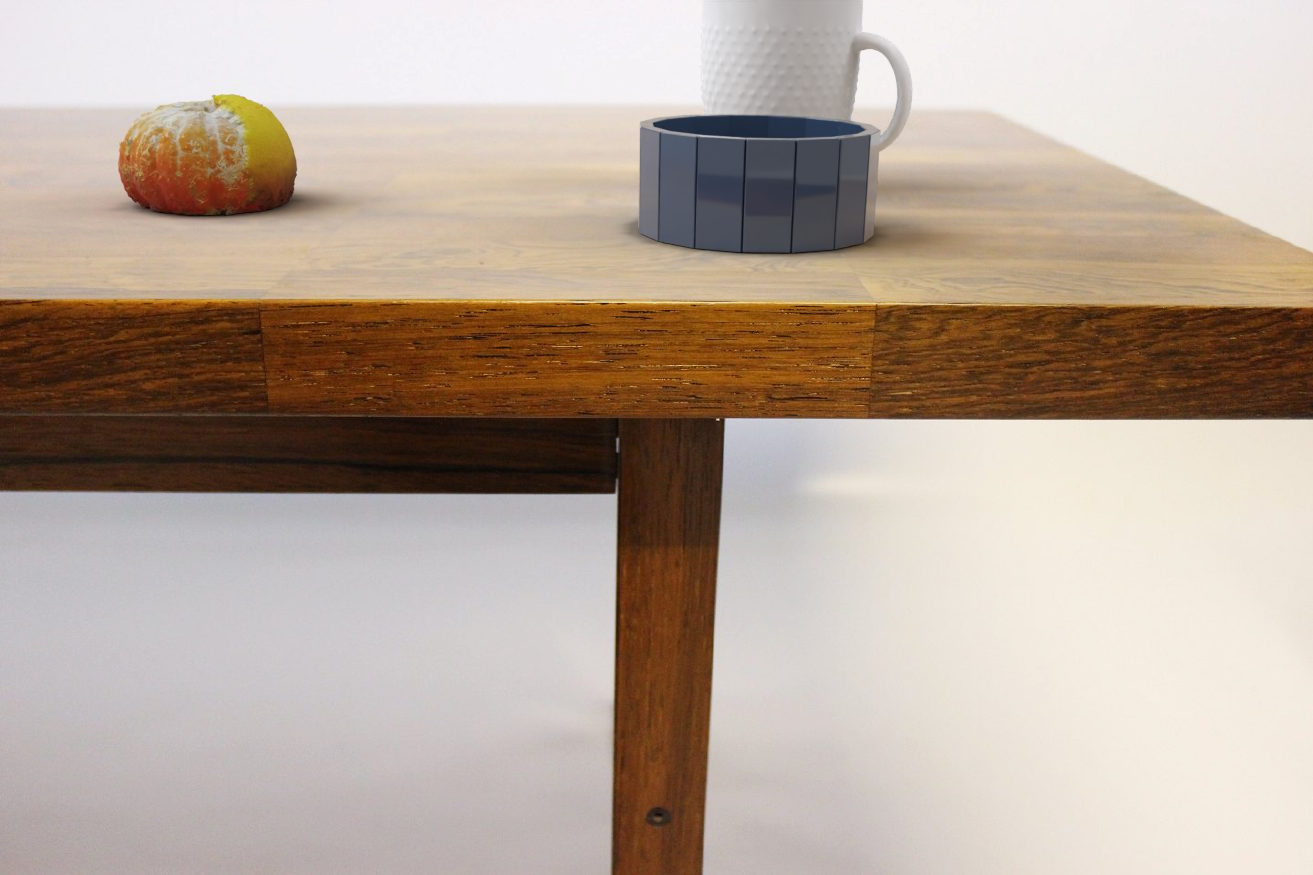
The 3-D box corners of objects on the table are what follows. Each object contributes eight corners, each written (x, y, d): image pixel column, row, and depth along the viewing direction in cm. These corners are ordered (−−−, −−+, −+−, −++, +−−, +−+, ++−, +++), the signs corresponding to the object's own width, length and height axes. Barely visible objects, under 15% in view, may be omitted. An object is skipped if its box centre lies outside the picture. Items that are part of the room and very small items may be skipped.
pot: (893, 220, 83) (900, 121, 81) (840, 261, 71) (847, 145, 69) (684, 204, 88) (686, 109, 86) (602, 240, 76) (602, 131, 74)
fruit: (135, 182, 90) (160, 63, 88) (293, 228, 92) (321, 113, 90) (86, 206, 79) (113, 71, 77) (265, 257, 81) (296, 127, 79)
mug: (920, 183, 98) (935, -6, 94) (885, 205, 88) (900, -5, 84) (726, 169, 103) (732, -11, 99) (673, 189, 94) (677, -10, 89)
